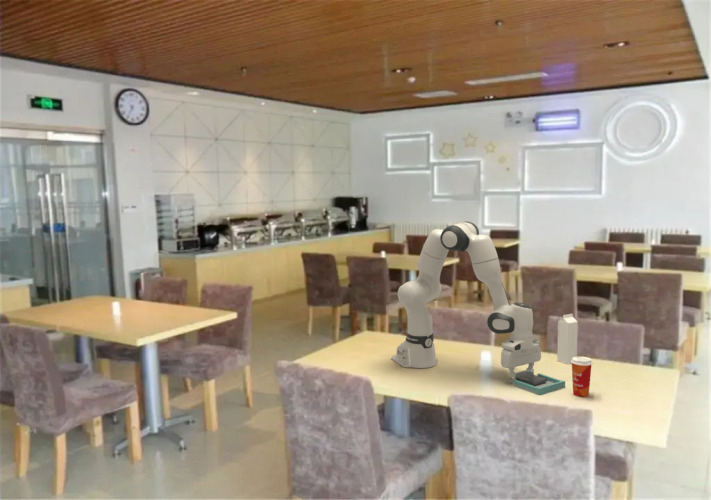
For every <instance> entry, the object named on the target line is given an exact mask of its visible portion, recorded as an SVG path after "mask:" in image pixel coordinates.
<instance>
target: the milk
mask: <svg viewBox="0 0 711 500" xmlns="http://www.w3.org/2000/svg"><path fill="white" fill-rule="evenodd" d="M578 323H579V321H578V320H577V319H575V317H574V314H573V313H569V314H563V316H562V318H560V319H558V320H557V354H556V355H557V360H556V361H557V362H559V363H563V364H566V365H570V364H571V365H572V362H571V360H572V358H573V357H578V327H579V326H578V325H579V324H578Z"/></svg>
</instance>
